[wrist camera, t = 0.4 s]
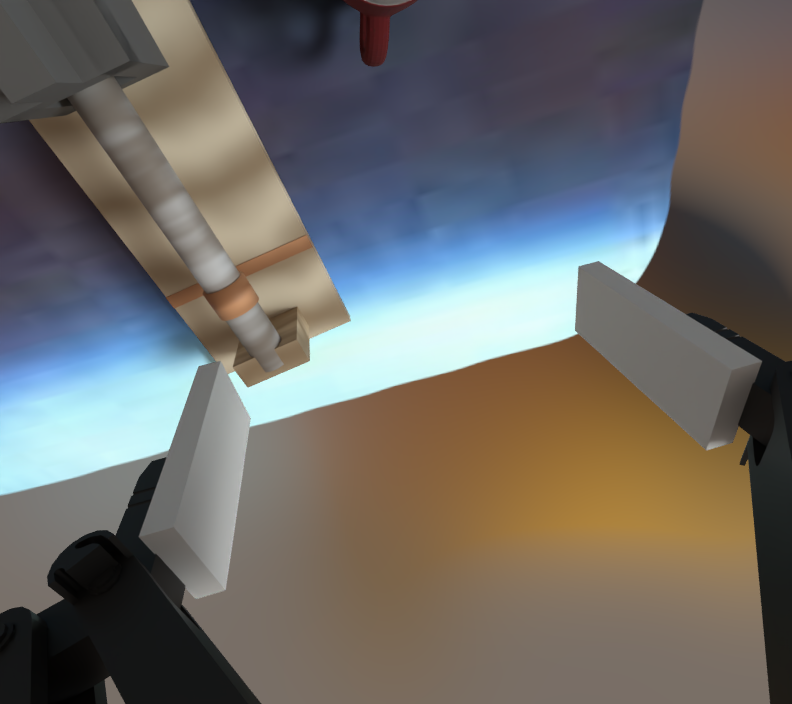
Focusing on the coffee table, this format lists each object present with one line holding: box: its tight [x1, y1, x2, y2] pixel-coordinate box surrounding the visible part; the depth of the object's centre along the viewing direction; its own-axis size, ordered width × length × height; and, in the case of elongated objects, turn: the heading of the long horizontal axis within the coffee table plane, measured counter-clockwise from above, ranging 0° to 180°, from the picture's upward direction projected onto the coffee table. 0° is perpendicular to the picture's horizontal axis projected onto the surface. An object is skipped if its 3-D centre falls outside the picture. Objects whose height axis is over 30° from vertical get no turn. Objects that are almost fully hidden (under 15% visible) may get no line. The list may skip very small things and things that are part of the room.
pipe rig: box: [29, 0, 351, 387], centre depth 32 cm, size 34×14×8 cm, turn 21°
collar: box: [0, 0, 169, 123], centre depth 24 cm, size 4×8×11 cm, turn 111°
